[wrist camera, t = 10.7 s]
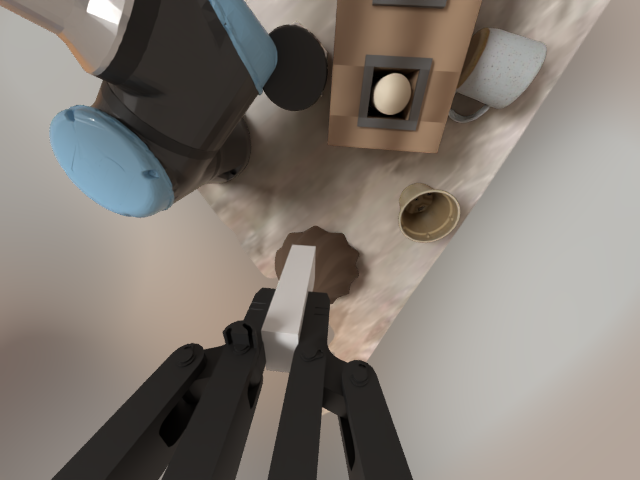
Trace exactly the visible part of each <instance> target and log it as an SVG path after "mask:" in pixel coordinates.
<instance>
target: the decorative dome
mask: <svg viewBox="0 0 640 480" xmlns="http://www.w3.org/2000/svg"><path fill="white" fill-rule="evenodd" d="M292 245H303V246H316V252H315V281H314V287H313V292H322V293H327V294H328V297H329V299H330V304H333V303H334V301H335V300H336V299H337V298H338V297H341V296H343V295H346V294H349V290H350V284H351V283H352V282H353V281H354V280H355V279H356V278H357V277H358V276H359V273H358V271H357V268H356V262H357V259H358V256H359V253H358V252H357V251H356V250H355V249H353V248H352V247H350V246H349V245H348V243H347V240H346V238H345V236H344V234H342V233H329V232H327V231H325V230H323V229H321V228H320V227H318V226H313V227H312V228H310V229H308V230H307V231H305V232H300V233H290V234H289V235H288V236H287V238H286V240H285V241H284V243H283V246H282V248H280V249H279V250H278V251H277V252H276V257H275V271H276V275H277V277H278V279H279V280H280V277H281V274H282V271H283V269H284V266H285V263H286V260H287V258H288V255H289V252H290V249H291V247H292Z"/></svg>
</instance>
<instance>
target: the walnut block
mask: <svg viewBox="0 0 640 480" xmlns="http://www.w3.org/2000/svg"><path fill="white" fill-rule="evenodd" d="M481 3H482V0H337V13H336V28H335V43H334V57H333V72H332V87H331V101H330V116H329V130H328V145H331V146H345V147H358V148H371V149H385V150H398V151H411V152H424V153H437V152H438V148H439V145H440V142H441V138H442V135H443V131H444V128H445V125H446V121H447V118H448V115H449V111H450V108H451V104H452V101H453V98H454V94H455V91H456V88H457V84H458V81H459V77H460V74H461V71H462V67H463V64H464V60H465V57H466V54H467V50H468V47H469V44H470V40H471V37H472V33H473V30H474V27H475V23H476V20H477V16H478V13H479V10H480V6H481ZM393 73H397V74H401V75H403V76H405V77H406V78H407V80H408V81H409V83H410V87H411V95H410V99H409V101H408V103H407V105H406V106H405V108H404V109H403V110H401V111H400V112H398V113H396V114H392V115H388V114H379V113H368V106H369V99H370V92H371V84H372V77H373V76H382V77H385V76H387V75H389V74H393Z"/></svg>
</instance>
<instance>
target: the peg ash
mask: <svg viewBox="0 0 640 480" xmlns="http://www.w3.org/2000/svg"><path fill="white" fill-rule="evenodd" d="M410 95H411V87H410V83H409V81H408V80H407V78H406V77H405V76H403V75H401V74H397V73H393V74H389V75H387V76H385V77H383V78H381V79H379V80H377V81H376V82H374V83H373V84H372V85H371V92H370V99H369V106H370V107H371V108H373V109H374V110H377V111H379V112H382V113H384V114H388V115H392V114H396V113H398V112H400V111H401V110H403V109H404V108H405V106H406V105H407V103H408V101H409V99H410Z"/></svg>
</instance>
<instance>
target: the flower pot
mask: <svg viewBox="0 0 640 480" xmlns="http://www.w3.org/2000/svg"><path fill="white" fill-rule="evenodd" d="M429 192H430V196H429V195H428V193H429ZM416 198H417V199H418V200H417V201H416V200H415V199H416ZM399 204H400V213H399V218H398V222H399V227H400V230H401V232H402V233H403V234H404V235H405V236H406V237H407V238H408V239H410V240H412V241H415V242H420V243H429V242H434V241H437V240H439V239H441V238H443V237H445V236H446V235H448V234H449V233H450V232H451V231H452V230H453V229H454V228H455V227H456V225H457V223H458V221H459V218H460V207H459V204H458V202H457V200H456V199H455V198H454V197H453V196H452V195H451V194H449V193H447V192H445V191H442V190H434V189H433V188H431V187H429V186H428V185H426V184H422V183H415V184H412V185H410V186H408V187H407V188H405V189H404V190H403V192H402V194H401V196H400V199H399ZM423 206H424V208H423V209H421V210H418V209H419V208H421V207H423Z"/></svg>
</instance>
